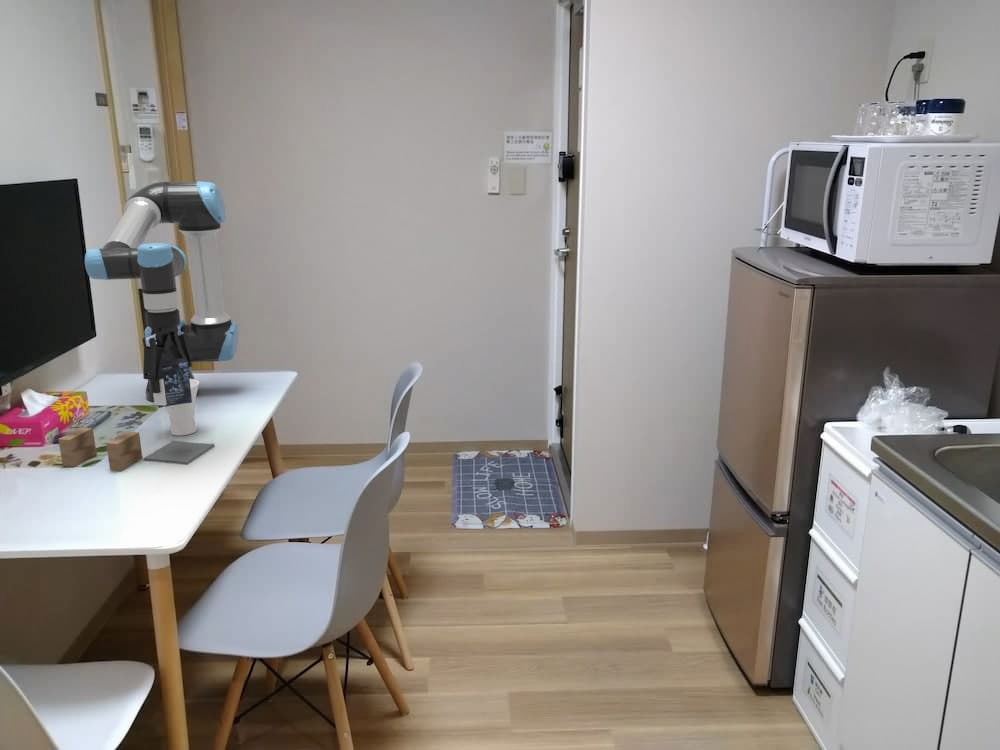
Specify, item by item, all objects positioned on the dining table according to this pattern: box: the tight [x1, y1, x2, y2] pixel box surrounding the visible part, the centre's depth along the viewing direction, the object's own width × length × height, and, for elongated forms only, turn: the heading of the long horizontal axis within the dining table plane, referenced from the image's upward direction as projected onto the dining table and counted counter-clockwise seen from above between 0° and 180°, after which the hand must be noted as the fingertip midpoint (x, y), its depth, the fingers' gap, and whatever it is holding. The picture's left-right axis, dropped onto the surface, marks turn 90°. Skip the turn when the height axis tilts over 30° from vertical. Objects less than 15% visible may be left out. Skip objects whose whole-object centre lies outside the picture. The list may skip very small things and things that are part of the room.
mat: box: [142, 440, 215, 465], centre depth 193 cm, size 12×12×1 cm
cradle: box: [57, 427, 144, 472], centre depth 187 cm, size 8×16×7 cm, turn 79°
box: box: [156, 358, 192, 409], centre depth 188 cm, size 8×6×11 cm
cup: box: [166, 378, 200, 436], centre depth 206 cm, size 10×10×14 cm
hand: (173, 398), depth 189 cm, fingers closed on box, 9 cm apart
